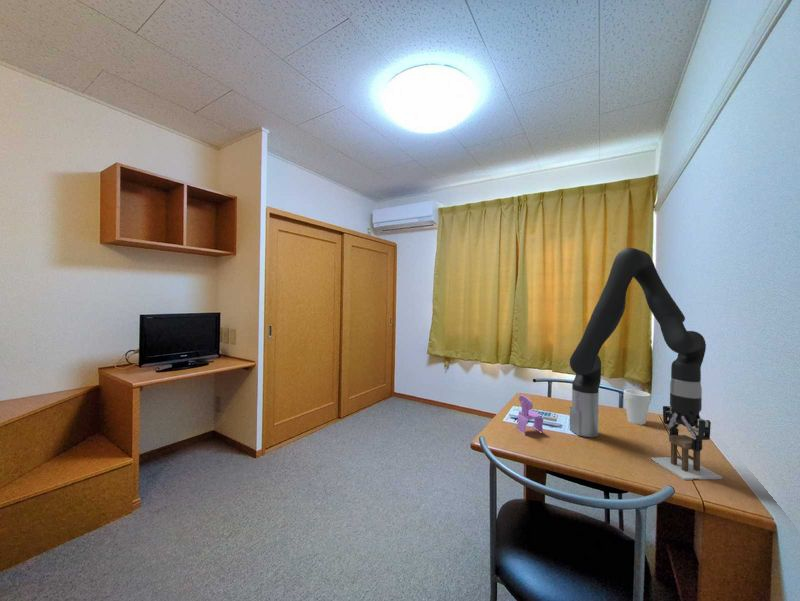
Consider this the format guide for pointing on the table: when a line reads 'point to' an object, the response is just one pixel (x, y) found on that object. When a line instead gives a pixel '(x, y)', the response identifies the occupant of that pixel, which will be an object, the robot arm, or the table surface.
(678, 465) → the mat
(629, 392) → the foam cup
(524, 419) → the toy chair
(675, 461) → the stool
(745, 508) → the table surface
